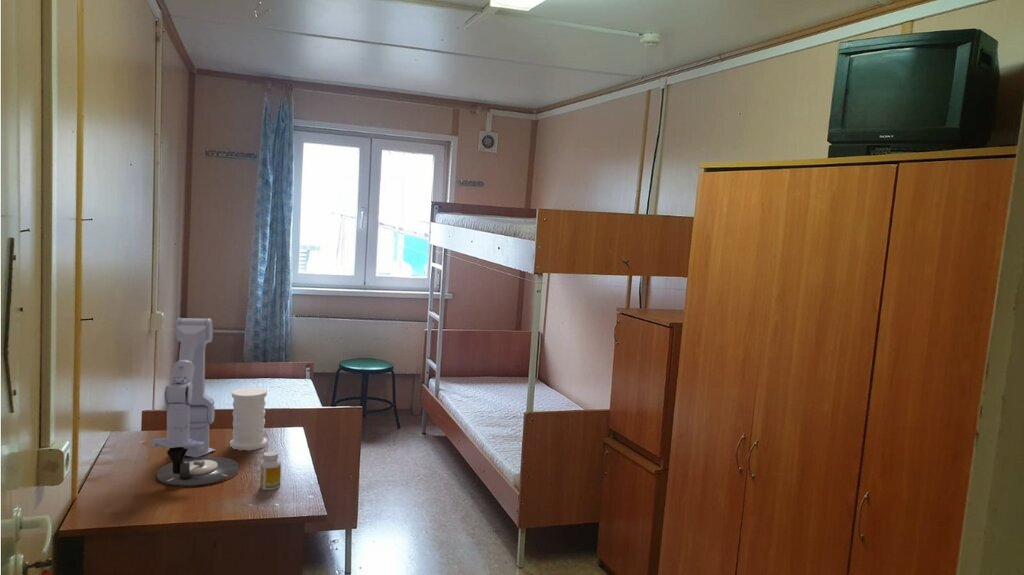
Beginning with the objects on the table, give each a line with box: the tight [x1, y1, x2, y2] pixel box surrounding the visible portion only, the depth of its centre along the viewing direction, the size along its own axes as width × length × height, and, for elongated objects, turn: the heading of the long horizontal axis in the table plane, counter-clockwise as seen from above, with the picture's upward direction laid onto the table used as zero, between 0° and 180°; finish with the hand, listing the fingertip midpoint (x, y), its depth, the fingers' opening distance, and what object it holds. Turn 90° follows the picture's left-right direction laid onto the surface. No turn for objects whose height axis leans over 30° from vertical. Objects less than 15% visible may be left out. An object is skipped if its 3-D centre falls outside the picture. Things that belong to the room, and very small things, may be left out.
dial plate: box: [156, 456, 240, 488], centre depth 206 cm, size 22×22×1 cm
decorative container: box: [229, 387, 268, 451], centre depth 231 cm, size 12×12×18 cm
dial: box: [179, 460, 217, 478], centre depth 204 cm, size 14×10×5 cm
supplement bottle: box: [259, 450, 282, 491], centre depth 198 cm, size 5×5×10 cm
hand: (177, 472), depth 199 cm, fingers closed, pressing on dial
